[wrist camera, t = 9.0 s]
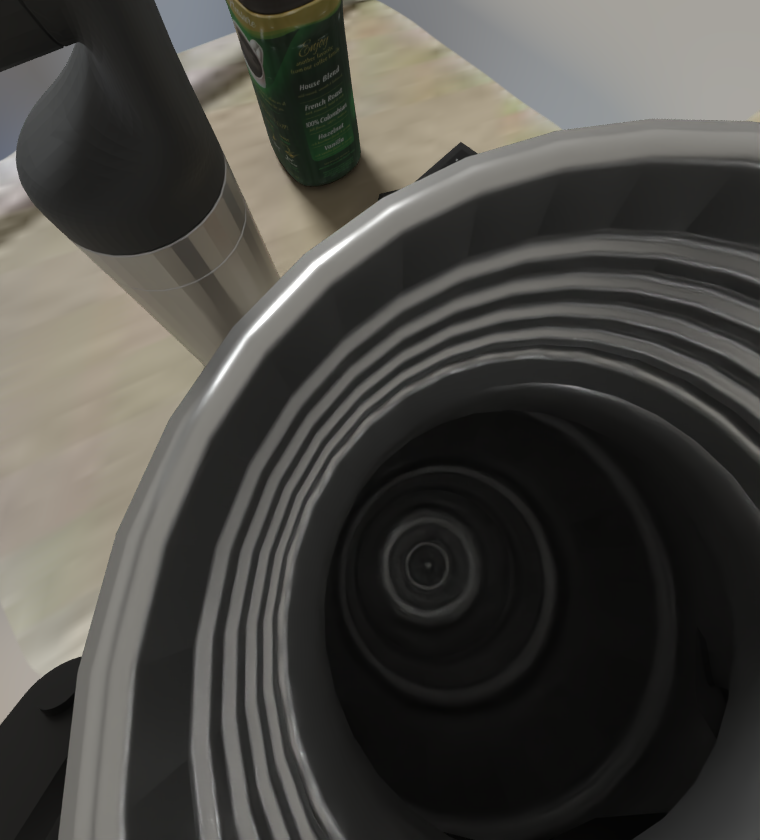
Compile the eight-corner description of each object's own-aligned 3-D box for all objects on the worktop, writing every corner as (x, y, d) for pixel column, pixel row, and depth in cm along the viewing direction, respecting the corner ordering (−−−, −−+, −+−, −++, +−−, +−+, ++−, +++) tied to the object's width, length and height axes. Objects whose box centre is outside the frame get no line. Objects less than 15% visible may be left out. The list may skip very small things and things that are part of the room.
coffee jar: (374, 166, 44) (354, -91, 27) (305, 202, 44) (236, -39, 26) (328, 105, 47) (281, -165, 29) (261, 138, 46) (172, -120, 29)
